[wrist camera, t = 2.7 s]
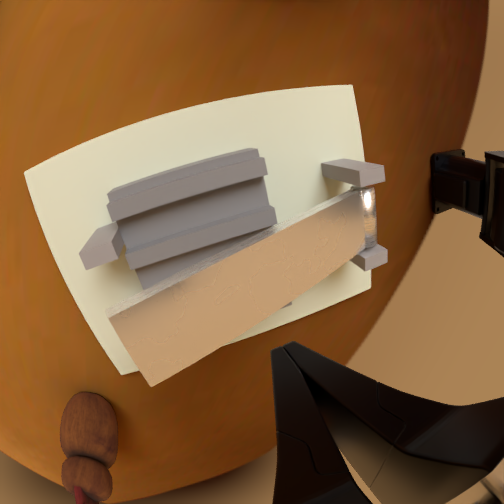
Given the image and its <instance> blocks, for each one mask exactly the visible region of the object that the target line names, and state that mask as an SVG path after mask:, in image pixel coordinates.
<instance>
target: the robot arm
mask: <svg viewBox="0 0 504 504" xmlns="http://www.w3.org/2000/svg"><path fill="white" fill-rule="evenodd" d="M432 177H433V212H434V213H436V214H439V213H441V212H444V211H446V210H449V209H451V208H455V209H458V210H461V211H463V212H466V213H468V214H471V215H473V216H476V217H479V218H481V219H482V225H481V232H480V235H479V238H480V239H482V240H483V241H484V242H485V243H486V244H488V245H489V246H491V247H492V248H493V249H494V250H496V251H497V252H498V253H499V254H500V255H502V256H503V257H504V151H490V152H489V151H488V152H485V162H483V161H479V160H474V159H470V158H465V151H464V150H462V149H458V150H451V151H445V152H438V153H433V155H432ZM270 353H271V366H272V379H273V393H274V406H275V420H276V431H277V433H276V437H277V468H276V479H275V487H274V496H273V504H373V503H372V502H371V501H370V500H369V499H368V498H367V496H366V495H365V494H364V493H363V492H362V491H361V489H360V488H359V487H358V485H357V484H356V482H355V481H354V479H353V477H352V475H351V473H350V472H349V469H348V467H347V465H346V463H345V461H344V459H343V457H342V455H341V453H340V451H341V452H342V453H343V455H344V456H345V457H346V459H347V460H348V461H349V463H350V464H351V465H352V467H353V468H354V469H355V470H356V472H357V473H358V474H359V476H360V477H361V478H362V480H363V481H364V482H365V483H366V485H367V486H368V487H369V488H370V490H371V491H372V492H373V494H374V495H375V496H376V497H377V499H378V500H379V501H380V502H381V503H382V504H504V397H501V398H498V399H494V400H489V401H485V402H481V403H476V404H471V405H465V406H454V405H448V404H444V403H440V402H436V401H432V400H428V399H425V398H421V397H418V396H414V395H411V394H408V393H405V392H402V391H399V390H397V389H394V388H392V387H389V386H387V385H384V384H382V383H380V382H377V381H376V380H373V379H371V378H369V377H367V376H365V375H363V374H360V373H358V372H356V371H354V370H352V369H350V368H348V367H346V366H343V365H341V364H339V363H337V362H335V361H333V360H331V359H329V358H327V357H325V356H323V355H321V354H319V353H317V352H315V351H313V350H311V349H309V348H307V347H305V346H303V345H301V344H299V343H297V342H295V341H291V342H289V343H287V344H284V345H283V347H282V346H279V347H277V348H274V349H272V350H271V351H270ZM338 448H339V449H340V451H339V449H338Z"/></svg>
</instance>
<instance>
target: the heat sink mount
mask: <svg viewBox="0 0 504 504" xmlns="http://www.w3.org/2000/svg"><path fill="white" fill-rule="evenodd" d="M24 175H25V179H26V182H27V185H28V189H29V192H30V195H31V198H32V201H33V204H34V207H35V210H36V213H37V216H38V219H39V221H40V224H41V227H42V229H43V232H44V235H45V237H46V240H47V242H48V244H49V247H50V249H51V252H52V254H53V256H54V258H55V261H56V263H57V265H58V267H59V269H60V271H61V274H62V276H63V278H64V280H65V282H66V284H67V286H68V288H69V290H70V292H71V294H72V296H73V298H74V299H75V301H76V303H77V305H78V307H79V309H80V310H81V312H82V314H83V316H84V318H85V319H86V321H87V323H88V324H89V326H90V328H91V330H92V331H93V333H94V334H95V336H96V338H97V339H98V341H99V342H100V344H101V346H102V347H103V349H104V350H105V352H106V353H107V355H108V356H109V358H110V359H111V361H112V362H113V364H114V365H115V367H116V368H117V369H118V371H119V372H120V374H121V375H124V374H128V373H132V372H136V371H140V370H139V369H138V367H137V366H136V364H135V363H134V361H133V360H132V358H131V356H130V355H129V353H128V352H127V350H126V348H125V347H124V345H123V343H122V342H121V340H120V338H119V337H118V335H117V333H116V332H115V330H114V328H113V326H112V325H111V323H110V321H109V319H108V317H107V314H106V311H105V309H107V308H109V307H111V306H113V305H115V304H117V303H119V302H121V301H122V300H124V299H126V298H128V297H130V296H132V295H134V294H136V293H138V292H140V291H142V290H144V289H146V288H148V287H150V286H152V285H154V284H156V283H158V282H160V281H162V280H164V279H166V278H168V277H170V276H172V275H174V274H176V273H178V272H180V271H182V270H184V269H186V268H188V267H190V266H192V265H194V264H196V263H198V262H200V261H202V260H204V259H206V258H208V257H210V256H212V255H215V254H217V253H219V252H221V251H223V250H225V249H227V248H229V247H231V246H233V245H235V244H237V243H239V242H241V241H243V240H245V239H247V238H249V237H251V236H253V235H256V234H258V233H260V232H262V231H264V230H266V229H268V228H270V227H272V226H274V225H276V224H278V223H280V222H283V221H285V220H287V219H289V218H291V217H293V216H295V215H297V214H299V213H301V212H303V211H306V210H308V209H310V208H312V207H314V206H316V205H318V204H320V203H322V202H325V201H327V200H329V199H331V198H333V197H335V196H337V195H339V194H342V193H344V192H346V191H348V190H350V187H351V186H353V185H355V186H358V187H364V186H368V185H372V184H376V183H379V182H383V181H385V174H384V166H383V165H378V164H373V163H368V162H365V161H364V152H363V145H362V138H361V131H360V125H359V118H358V113H357V107H356V102H355V96H354V91H353V86H352V85H335V86H318V87H306V88H295V89H286V90H278V91H271V92H264V93H257V94H251V95H245V96H239V97H234V98H229V99H224V100H219V101H214V102H210V103H205V104H201V105H197V106H193V107H189V108H185V109H181V110H177V111H174V112H170V113H167V114H163V115H160V116H157V117H153V118H150V119H147V120H144V121H141V122H138V123H135V124H132V125H129V126H126V127H123V128H120V129H118V130H115V131H112V132H110V133H107V134H104V135H102V136H99V137H97V138H94V139H92V140H90V141H87V142H85V143H82V144H80V145H78V146H76V147H73V148H71V149H69V150H67V151H65V152H62V153H60V154H58V155H56V156H54V157H52V158H50V159H48V160H46V161H44V162H42V163H40V164H38V165H36V166H34V167H33V168H31V169H29V170H27V171H25V172H24ZM384 263H387V249H386V248H384V247H382V246H380V245H378V244H376V245H375V246H373V247H370V248H365V249H363V250H362V251H361V252H359V253H358V254H357V255H355V256H354V257H353V258H351V259H350V260H349V261H347V262H346V263H345V264H343V265H342V266H341V267H339V268H338V269H337V270H335V271H334V272H332V273H331V274H330V275H328V276H327V277H325V278H324V279H323V280H321V281H320V282H318V283H317V284H316V285H314V286H313V287H311V288H310V289H308V290H307V291H306V292H304V293H303V294H301V295H300V296H298V297H297V298H295V299H294V300H293V301H291V302H290V303H288V304H287V305H285V306H284V307H282V308H281V309H279V310H278V311H276V312H275V313H273V314H272V315H270V316H269V317H267V318H266V319H264V320H263V321H261V322H260V323H258V324H256V325H255V326H253V327H252V328H250V329H249V330H247V331H246V332H244V333H242V334H241V335H239V336H238V337H236V338H234V339H233V340H231V341H230V342H228V343H226V344H225V345H228V344H231V343H234V342H237V341H240V340H242V339H245V338H248V337H251V336H254V335H257V334H260V333H262V332H265V331H268V330H270V329H273V328H276V327H279V326H281V325H284V324H286V323H289V322H292V321H294V320H297V319H299V318H302V317H304V316H307V315H309V314H312V313H314V312H317V311H319V310H322V309H324V308H326V307H329V306H331V305H333V304H336V303H338V302H340V301H343V300H345V299H347V298H350V297H352V296H354V295H356V294H359V293H361V292H363V291H365V290H367V289H370V288H371V269H373V268H375V267H377V266H380V265H382V264H384ZM225 345H223V346H225Z"/></svg>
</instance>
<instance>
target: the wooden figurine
mask: <svg viewBox="0 0 504 504" xmlns="http://www.w3.org/2000/svg"><path fill="white" fill-rule="evenodd" d="M60 442H61V447H62V450H63V452H64V454H65V455H66V457H67V458H68V459H66V460H65V461H64V463H63V465H62V475H61V478H62V483H63V485H64V487H65V489H66V490H67V491H68V492H70V493H71V494H72V495H74V496H75V499H76V504H99V501H105V500H107V499H108V498H109V497H110V495H111V493H112V477H111V474H110V472H109V470H108V469H109V468H110V467H111V466H112V465H113V464H114V462H115V460H116V456H117V451H118V425H117V420H116V415H115V413H114V410H113V408H112V406H111V404H110V403H109V402H108V401H106V400H105V399H104V398H103V397H101V396H100V395H98V394H95V393H89V392H81V393H78V394H75V395H74V396H73V397H72V398H71V399H70V401H69V402H68V404H67V405H66V407H65V409H64V412H63V415H62V420H61V426H60Z"/></svg>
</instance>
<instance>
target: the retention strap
mask: <svg viewBox="0 0 504 504" xmlns="http://www.w3.org/2000/svg"><path fill="white" fill-rule="evenodd" d="M376 244H377V222H376V203H375V189H374V185H368V186H364V187H358V186H355V185H353V186H351V187H350V190H348V191H346V192H344V193H342V194H339V195H337V196H335V197H333V198H331V199H329V200H327V201H325V202H322V203H320V204H318V205H316V206H314V207H312V208H310V209H308V210H306V211H303V212H301V213H299V214H297V215H295V216H293V217H291V218H289V219H287V220H285V221H283V222H280V223H278V224H276V225H274V226H272V227H270V228H268V229H266V230H264V231H262V232H260V233H258V234H256V235H253V236H251V237H249V238H247V239H245V240H243V241H241V242H239V243H237V244H235V245H233V246H231V247H229V248H227V249H225V250H223V251H221V252H219V253H217V254H215V255H212V256H210V257H208V258H206V259H204V260H202V261H200V262H198V263H196V264H194V265H192V266H190V267H188V268H186V269H184V270H182V271H180V272H178V273H176V274H174V275H172V276H170V277H168V278H166V279H164V280H162V281H160V282H158V283H156V284H154V285H152V286H150V287H148V288H146V289H144V290H142V291H140V292H138V293H136V294H134V295H132V296H130V297H128V298H126V299H124V300H122V301H121V302H119V303H117V304H115V305H113V306H111V307H109V308H107V309H105V311H106V314H107V317H108V319H109V321H110V323H111V325H112V326H113V328H114V330H115V332H116V333H117V335H118V337H119V338H120V340H121V342H122V343H123V345H124V347H125V348H126V350H127V352H128V353H129V355H130V356H131V358H132V360H133V361H134V363H135V364H136V366H137V367H138V369H139V370H140V372H141V373H142V375H143V376H144V378H145V379H146V381H147V382H148V383H149V385H150V386H151V387H153V386H155V385H156V384H158V383H160V382H162V381H164V380H165V379H167V378H169V377H171V376H172V375H174V374H176V373H178V372H179V371H181V370H183V369H185V368H186V367H188V366H190V365H192V364H193V363H195V362H197V361H198V360H200V359H202V358H203V357H205V356H207V355H208V354H210V353H212V352H213V351H215V350H217V349H218V348H220V347H222V346H223V345H225V344H226V343H228V342H230V341H231V340H233V339H234V338H236V337H238V336H239V335H241V334H242V333H244V332H246V331H247V330H249V329H250V328H252V327H253V326H255V325H256V324H258V323H260V322H261V321H263V320H264V319H266V318H267V317H269V316H270V315H272V314H273V313H275V312H276V311H278V310H279V309H281V308H282V307H284V306H285V305H287V304H288V303H290V302H291V301H293V300H294V299H295V298H297V297H298V296H300V295H301V294H303V293H304V292H306V291H307V290H308V289H310V288H311V287H313V286H314V285H316V284H317V283H318V282H320V281H321V280H323V279H324V278H325V277H327V276H328V275H330V274H331V273H332V272H334V271H335V270H337V269H338V268H339V267H341V266H342V265H343V264H345V263H346V262H347V261H349V260H350V259H351V258H353V257H354V256H355V255H357V254H358V253H359V252H361V251H362V250H363V249H365V248H370V247H373V246H375V245H376Z"/></svg>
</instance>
